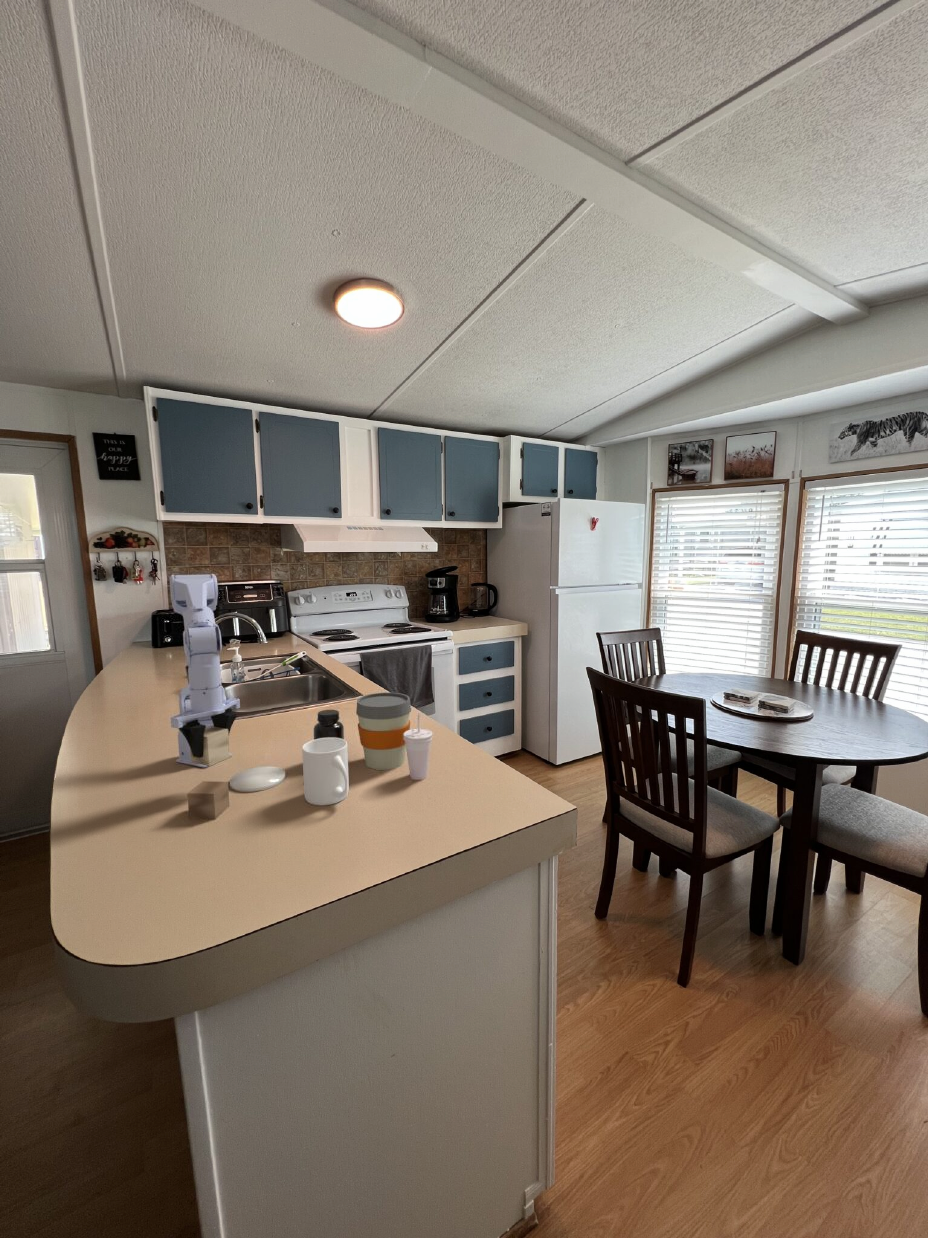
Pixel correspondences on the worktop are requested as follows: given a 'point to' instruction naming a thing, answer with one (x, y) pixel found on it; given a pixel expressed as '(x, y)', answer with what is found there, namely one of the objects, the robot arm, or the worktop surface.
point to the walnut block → (208, 800)
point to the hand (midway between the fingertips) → (210, 751)
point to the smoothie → (418, 751)
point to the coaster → (257, 779)
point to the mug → (325, 771)
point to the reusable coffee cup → (383, 728)
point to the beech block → (213, 746)
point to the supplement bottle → (328, 725)
